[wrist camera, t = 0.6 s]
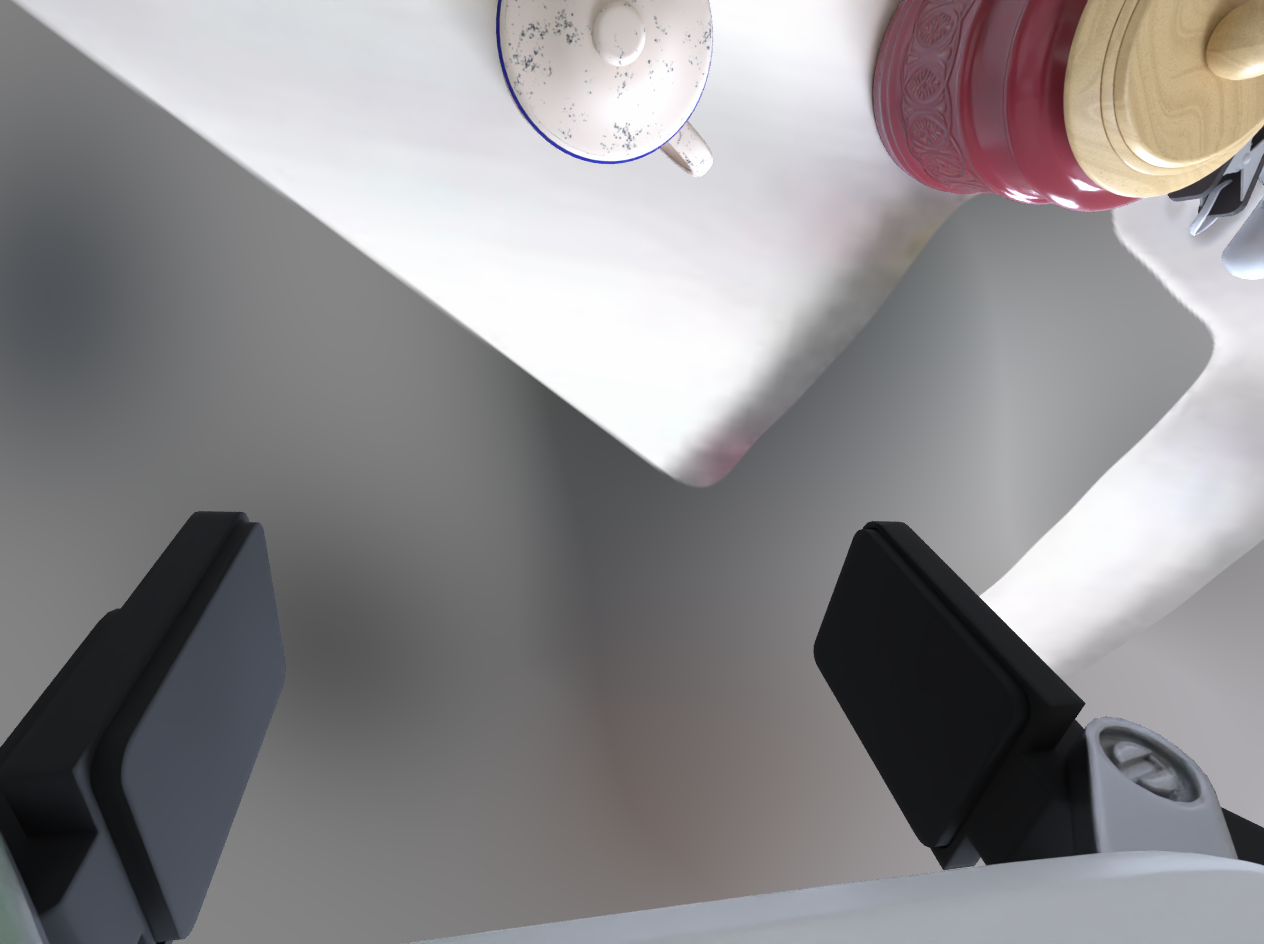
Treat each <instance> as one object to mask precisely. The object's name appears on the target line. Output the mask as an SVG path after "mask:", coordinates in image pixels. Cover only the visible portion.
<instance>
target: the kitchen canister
mask: <svg viewBox="0 0 1264 944" xmlns="http://www.w3.org/2000/svg"><path fill="white" fill-rule="evenodd" d="M873 99H874V112H875V119H876V123H877V127H878V131H879V134H880V137H881V139H882V142H883V144H884V146H885V148H886V150H887V152H888V153H889V155H890V157H891V158H892V159H893V161H894V162H895V163H896V164H897V165H898V166H899V167H900V168H901V169H902V170H903V171H904V172H905V173H907V174H908V175H909V176H911V177H913V178H915V179H916V180H918V181H919V182H921V183H923V184H924V185H926V186H929V187H931V188H934V189H937V190H941V191H945V192H952V193H959V194H971V193H983V194H990V195H998V196H1004V197H1006V198H1008V199H1011V200H1013V201H1016V202H1021V203H1025V204H1051V203H1053V204H1055V205H1057V206H1060V207H1063V208H1066V209H1070V210H1075V211H1083V212H1095V211H1104V210H1110V209H1114V208H1118V207H1122V206H1125V205H1128V204H1130V203H1133V202H1135V201H1138V200H1140V199H1142V198H1144V197H1153V196H1159V195H1164V194H1167V193H1171V192H1174V191H1177V190H1180V189H1182V188H1184V187H1187V186H1189V185H1191V184H1193V183H1195V182H1197V181H1199V180H1200V179H1202V178H1204V177H1205V176H1207V175H1209V174H1210V173H1212V172H1213V171H1215V170H1216V169H1217V168H1219V167H1220V166H1221V165H1223V164H1224V163H1225V162H1227V161H1228V160H1229V159H1230V158H1231V157H1233V156H1234V155H1235V154H1236V153H1237V152H1238V151H1239V150H1240V149H1242V148H1243V147H1244V146H1245V145H1246V144H1247V143H1248V142H1249V141H1250V140H1251V139H1252V138H1253V137H1254V135H1255V134H1256V133H1257V132H1258V131H1259V130H1260V129H1261V128H1262V126H1263V125H1264V0H901V2H900V4H899V5H898V7H897V9H896V11H895V12H894V14H893V16H892V18H891V20H890V23H889V25H888V27H887V30H886V32H885V35H884V38H883V41H882V44H881V47H880V50H879V54H878V59H877V63H876V69H875V77H874V90H873Z"/></svg>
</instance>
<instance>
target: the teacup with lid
mask: <svg viewBox="0 0 1264 944" xmlns="http://www.w3.org/2000/svg"><path fill="white" fill-rule="evenodd" d="M496 35H497V47H498V53H499V59H500V63H501V67H502V71H503V75H504V79H505V82H506V85H507V88H508V91H509V93H510V96H511V98H512V100H513V102H514V104H515V106H516V108H517V109H518V111H519V112H520V114H521V115H522V116H523V118H524V119H525V120H526V122H527V123H528V124H529V125H530V126H531V127H532V128H533V129H534V130H535V131H536V132H537V133H539V134H540V135H541V136H542V137H543V138H544V139H545V140H546V141H548V142H549V143H550V144H552V145H553V146H554V147H556V148H558V149H559V150H561V151H563V152H564V153H566V154H568V155H571V156H573V157H575V158H578V159H581V160H584V161H588V162H593V163H600V164H617V163H625V162H629V161H633V160H636V159H639V158H642V157H644V156H646V155H648V154H651V153H652V152H654V151H656V150H657V149H659V150H660V151H661V152H662V153H663V154H664V155H665V156H666V157H667V158H668V159H670V160H671V161H672V162H673V163H674V164H675V165H677V166H678V167H679V168H681V169H682V170H683V171H685V172H686V173H688V174H690V175H692V176H695V177H700V176H702V175H704V174H705V173H706V171H707V170H708V169H709V168H710V167H711V165H712V163H713V156H712V153H711V151H710V149H709V147H708V146H707V144H706V143H705V141H704V140H703V138H702V137H701V136H700V135H699V133H698V132H697V131H696V130H695V129H694V128H693V126H692V125H691V124H690V123H689V122H688V121H687V120H688V119H689V118H690V116H691V114H692V113H693V111H694V109H695V108H696V106H697V104H698V102H699V100H700V97H701V95H702V92H703V90H704V87H705V84H706V81H707V77H708V73H709V69H710V64H711V57H712V46H713V26H712V15H711V9H710V4H709V0H498V6H497V17H496Z"/></svg>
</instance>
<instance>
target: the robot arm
mask: <svg viewBox="0 0 1264 944" xmlns="http://www.w3.org/2000/svg"><path fill="white" fill-rule="evenodd" d="M814 658H815V661H816V664H817V666H818V668H819V670H820V671H821V673H822V675H823V677H824V678H825V680H826V682H827V683H828V685H829V687H830V688H831V690H832V692H833V694H834V695H835V697H836V699H837V701H838V702H839V704H840V705H841V707H842V709H843V711H844V712H845V714H846V716H847V718H848V720H849V721H850V723H851V725H852V726H853V728H854V730H855V731H856V733H857V735H858V737H859V738H860V740H861V742H862V744H863V745H864V747H865V749H866V750H867V752H868V754H869V756H870V757H871V759H872V761H873V762H874V764H875V766H876V768H877V769H878V771H879V773H880V775H881V776H882V778H883V779H884V781H885V783H886V785H887V787H888V788H889V790H890V792H891V793H892V795H893V797H894V799H895V800H896V802H897V804H898V805H899V807H900V809H901V811H902V812H903V814H904V816H905V817H906V819H907V821H908V823H909V824H910V826H911V828H912V829H913V831H914V833H915V835H916V836H917V837H918V839H919V840H920V842H921V843H922V844H924V845H925V846H927V847H930V848H931V850H932V852H933V854H934V855H935V857H936V859H937V860H938V862H939V864H940V865H941V867H942V869H943V870H947V871H940V872H932V873H925V874H916V875H909V876H900V877H892V878H884V879H876V880H868V881H861V882H853V883H845V884H837V885H830V886H822V887H814V888H807V889H799V890H792V891H784V892H777V893H769V894H761V895H754V896H747V897H739V898H731V899H724V900H716V901H709V902H701V903H694V904H686V905H679V906H672V907H665V908H657V909H650V910H642V911H634V912H627V913H619V914H612V915H604V916H597V917H590V918H583V919H576V920H568V921H561V922H555V923H547V924H540V925H532V926H525V927H518V928H511V929H503V930H496V931H490V932H482V933H475V934H468V935H461V936H453V937H446V938H439V939H431V940H424V941H417V942H410V943H403V944H1264V828H1263V827H1261V826H1259V825H1257V824H1255V823H1252V822H1251V821H1249V820H1246V819H1244V818H1242V817H1240V816H1238V815H1236V814H1234V813H1232V812H1230V811H1228V810H1226V809H1224V808H1222V807H1220V804H1219V801H1218V798H1217V795H1216V792H1215V790H1214V788H1213V786H1212V784H1211V782H1210V780H1209V778H1208V777H1207V775H1206V774H1205V773H1204V772H1203V771H1202V770H1201V768H1200V767H1199V766H1198V765H1197V764H1196V763H1195V762H1194V760H1192V759H1191V758H1190V757H1189V756H1188V755H1187V754H1185V753H1184V752H1183V751H1182V750H1181V749H1179V748H1178V747H1177V746H1176V745H1174V744H1173V743H1171V742H1170V741H1168V740H1167V739H1165V738H1164V737H1162V736H1161V735H1159V734H1157V733H1155V732H1153V731H1151V730H1149V729H1147V728H1145V727H1143V726H1141V725H1139V724H1136V723H1133V722H1130V721H1127V720H1124V719H1121V718H1113V717H1101V718H1095V719H1093V720H1092V721H1091V722H1090V723H1089V724H1088V725H1087V726H1086V727H1085V729H1083V727H1082V726H1081V725H1080V724H1079V723H1078V722H1077V721H1076V720H1075V718H1076V717H1077V715H1078V714H1079V712H1080V711H1081V709H1082V708H1083V707H1084V705H1085V702H1083V700H1082V699H1081V698H1080V697H1079V696H1077V694H1076V693H1075V692H1074V691H1073V690H1071V688H1070V687H1068V685H1067V684H1066V683H1065V682H1064V681H1063V680H1062V679H1061V678H1060V677H1059V676H1058V675H1057V674H1056V673H1055V672H1054V671H1053V670H1052V669H1051V668H1050V667H1049V666H1048V665H1047V664H1046V663H1045V662H1044V661H1043V660H1042V659H1041V658H1040V657H1039V656H1038V655H1037V654H1036V653H1035V652H1034V651H1033V650H1032V649H1031V648H1030V647H1029V646H1028V645H1027V644H1026V643H1025V642H1024V641H1023V640H1022V639H1021V638H1020V637H1019V636H1018V635H1017V634H1016V633H1015V632H1014V631H1013V630H1012V629H1011V628H1010V627H1009V626H1008V625H1007V624H1006V623H1005V622H1004V621H1003V620H1002V619H1001V618H1000V617H999V616H998V615H997V614H996V613H995V612H994V611H993V610H992V609H991V608H990V607H989V606H988V605H987V604H986V603H985V602H984V601H983V600H982V599H981V598H980V597H979V596H978V595H977V594H975V592H974V591H973V590H972V589H971V588H970V587H969V586H968V585H967V584H966V583H965V582H964V581H963V580H962V579H961V578H960V577H958V575H957V574H956V573H955V572H954V571H953V570H952V569H951V568H950V567H949V566H948V565H947V564H946V563H945V562H944V561H943V560H942V559H941V558H940V557H939V556H938V555H937V554H936V553H935V552H934V551H933V550H932V549H931V548H930V547H929V546H928V545H927V544H926V543H925V542H924V541H923V540H922V539H921V538H920V537H919V536H918V535H917V534H916V533H915V532H914V531H913V530H912V529H911V528H910V527H909V526H908V525H906V524H905V523H903V522H884V521H883V522H882V521H872V522H869V523H867V524H866V525H865V526H864V527H863V529H862V530H859V531H857V533H856V534H855V536H854V537H853V540H852V543H851V546H850V548H849V551H848V554H847V557H846V559H845V562H844V565H843V567H842V570H841V573H840V575H839V578H838V581H837V584H836V586H835V589H834V592H833V594H832V597H831V600H830V602H829V605H828V608H827V611H826V613H825V616H824V619H823V621H822V624H821V627H820V629H819V632H818V635H817V638H816V640H815V644H814ZM285 671H286V664H285V656H284V650H283V644H282V638H281V632H280V626H279V620H278V614H277V608H276V602H275V596H274V590H273V584H272V578H271V571H270V565H269V559H268V554H267V547H266V541H265V536H264V530H263V527H262V525H261V524H260V523H256V522H254V523H253V522H249V519H248V517H247V515H246V514H245V513H243V512H210V511H207V512H205V511H199V512H195V513H194V514H193V515H192V516H191V517H190V518H189V519H188V520H187V522H186V523H185V524H184V526H183V527H182V528H181V530H180V531H179V532H178V534H177V535H176V536H175V538H174V539H173V540H172V542H171V543H170V544H169V546H168V547H167V548H166V550H165V551H164V552H163V553H162V555H161V556H160V557H159V559H158V560H157V561H156V563H155V564H154V565H153V567H152V568H151V569H150V571H149V572H148V573H147V575H146V576H145V577H144V579H143V580H142V581H141V583H140V584H139V585H138V587H137V588H136V589H135V590H134V592H133V593H132V594H131V596H130V597H129V598H128V600H127V601H126V602H125V604H124V605H123V606H122V608H121V609H115V610H113V611H110V612H108V613H107V614H106V615H105V616H104V617H103V618H102V619H101V620H100V621H99V622H98V623H97V624H96V626H95V627H94V628H93V630H92V631H91V632H90V633H89V635H88V636H87V637H86V638H85V640H84V641H83V642H82V644H81V645H80V646H79V647H78V649H77V650H76V651H75V653H74V654H73V655H72V656H71V658H70V659H69V660H68V662H67V663H66V664H65V666H64V667H63V668H62V669H61V671H60V672H59V673H58V675H57V676H56V677H55V678H54V679H53V681H52V682H51V683H50V685H49V686H48V687H47V689H46V690H45V691H44V692H43V694H42V695H41V696H40V697H39V699H38V700H37V701H36V703H35V704H34V705H33V706H32V708H31V709H30V710H29V712H28V713H27V714H26V716H25V717H24V718H23V719H22V720H21V722H20V723H19V724H18V726H17V727H16V728H15V729H14V731H13V732H12V733H11V735H10V736H9V737H8V738H7V740H6V741H5V742H4V744H3V745H2V746H1V747H0V944H172V942H173V940H179V939H185V938H186V937H187V936H188V935H189V934H190V932H191V931H192V928H193V927H194V924H195V922H196V920H197V917H198V914H199V912H200V909H201V906H202V904H203V901H204V898H205V896H206V893H207V890H208V888H209V885H210V882H211V880H212V877H213V874H214V871H215V869H216V866H217V863H218V860H219V857H220V855H221V852H222V850H223V847H224V844H225V842H226V839H227V836H228V834H229V831H230V828H231V825H232V823H233V820H234V817H235V815H236V812H237V809H238V807H239V804H240V801H241V799H242V796H243V793H244V790H245V787H246V785H247V782H248V780H249V777H250V774H251V771H252V769H253V766H254V763H255V761H256V758H257V755H258V753H259V750H260V747H261V745H262V742H263V739H264V737H265V734H266V731H267V728H268V726H269V723H270V720H271V718H272V715H273V712H274V709H275V707H276V704H277V701H278V699H279V696H280V693H281V691H282V688H283V684H284V679H285ZM980 857H981V858H982V860H983V861H984V863H985V864H986V866H979V867H971V868H963V867H970V866H975V865H976V863H977V862H978V860H979V859H980ZM956 868H963V869H956ZM948 869H956V870H948Z"/></svg>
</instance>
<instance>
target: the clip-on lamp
mask: <svg viewBox="0 0 1264 944" xmlns="http://www.w3.org/2000/svg"><path fill="white" fill-rule="evenodd" d="M1258 178H1259V179H1260V180H1261V182H1262V183H1263V185H1264V125H1263V126H1262V128H1261V129H1260V130H1259V131H1258V132H1257V133H1256V134H1255V135H1254V137H1253V138H1252V139H1251V140H1250V141H1249V142H1248V143H1247V144H1246V145H1245V146H1244V147H1243V148H1242V149H1240V150H1239V151H1238V152H1237V153H1236V154H1235V155H1234V156H1233V157H1231V158H1230V159H1229V160H1228V161H1227V162H1225V163H1224V164H1223V165H1221V166H1220V167H1219V168H1217V169H1216V170H1215V171H1213V172H1212V173H1210V174H1209V175H1207V176H1205V177H1204V178H1202V179H1200V180H1199V181H1197V182H1195V183H1193V184H1191V185H1189V186H1187V187H1184V188H1182V189H1180V190H1177V191H1174V192H1171V193H1168V196H1169V198H1170V199H1172V200H1173V201H1184V200H1191V199H1198V198H1200V206H1199V210H1198V213H1199V214H1198V216H1197V217H1196V219H1195V220H1194V222H1193V223H1192V225H1191V226H1190V228H1189V232H1190V233H1191V234H1192V235H1197V234H1199V233H1201V232H1202V231H1203V230H1205V229H1206V228H1208V227H1209V226H1210V225H1211V224H1212V223H1214V222H1215V221H1216V220H1217V219H1218V218H1219V217H1224V216H1232V215H1235V214H1237V213H1239V212H1240V211H1242V210H1243V209H1244V207H1245V206H1246V205H1247V203H1248V201H1249V198H1250V196H1251V194H1252V191H1253V189H1254V187H1255V185H1256V182H1257V180H1258ZM1205 218H1207V219H1206V220H1205ZM1204 220H1205V221H1204ZM1203 221H1204V222H1203ZM1222 262H1223V264H1224V266H1225V268H1226V269H1227V270H1228V271H1229V272H1230V273H1231V274H1233V275H1234V276H1237V277H1239V278H1244V279H1261V278H1264V197H1263V198H1262V199H1261V201H1260V202H1259V204H1258V205H1257V206H1256V208H1255V209H1254V210H1253V212H1252V213H1251V214H1250V216H1249V217H1248V218H1247V220H1246V221H1245V223H1244V224H1243V225H1242V227H1241V228H1240V229H1239V231H1238V232H1237V233H1236V235H1235V236H1234V237H1233V239H1232V240H1231V242H1230V243H1229V244H1228V246H1227V247H1226V248H1225V250H1224V252H1223V254H1222Z"/></svg>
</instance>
